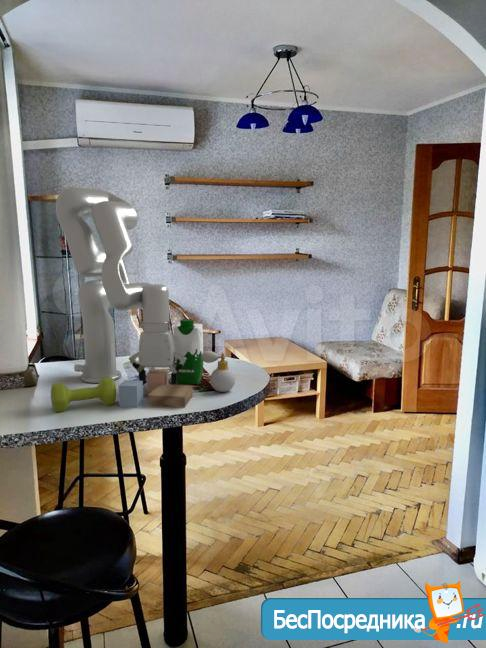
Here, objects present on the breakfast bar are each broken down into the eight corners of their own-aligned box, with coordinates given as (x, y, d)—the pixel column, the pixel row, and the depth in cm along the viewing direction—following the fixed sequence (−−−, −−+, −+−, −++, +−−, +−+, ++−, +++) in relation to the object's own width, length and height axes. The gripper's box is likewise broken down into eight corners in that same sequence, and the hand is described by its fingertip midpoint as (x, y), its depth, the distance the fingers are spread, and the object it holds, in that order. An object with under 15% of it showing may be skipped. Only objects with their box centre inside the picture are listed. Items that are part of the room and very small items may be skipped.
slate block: (119, 407, 127) (118, 385, 126) (125, 400, 132) (125, 380, 131) (137, 407, 127) (136, 386, 126) (143, 401, 132) (142, 380, 130)
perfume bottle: (238, 393, 139) (238, 353, 137) (206, 396, 136) (206, 355, 134) (231, 385, 146) (231, 347, 144) (200, 388, 143) (199, 350, 141)
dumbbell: (52, 416, 121) (50, 389, 119) (51, 406, 128) (49, 380, 126) (118, 407, 127) (117, 381, 126) (113, 398, 135) (112, 373, 133)
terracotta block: (147, 393, 138) (146, 373, 137) (152, 388, 143) (151, 369, 142) (164, 394, 138) (163, 374, 137) (168, 388, 143) (168, 369, 142)
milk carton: (172, 384, 147) (170, 321, 143) (179, 376, 156) (177, 316, 152) (200, 385, 146) (199, 321, 142) (205, 377, 155) (204, 316, 151)
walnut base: (148, 405, 128) (148, 395, 127) (158, 394, 138) (158, 384, 137) (184, 407, 127) (184, 396, 126) (192, 395, 137) (192, 385, 136)
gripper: (122, 329, 135) (125, 388, 137) (183, 330, 133) (184, 389, 136) (131, 324, 142) (134, 380, 145) (188, 325, 140) (190, 382, 143)
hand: (158, 384), depth 140 cm, fingers open, 8 cm apart
